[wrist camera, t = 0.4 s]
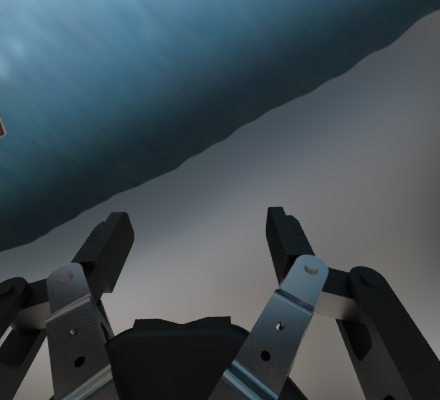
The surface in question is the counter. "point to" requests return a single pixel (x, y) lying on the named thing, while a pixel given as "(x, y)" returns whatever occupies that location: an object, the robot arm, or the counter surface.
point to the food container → (2, 129)
